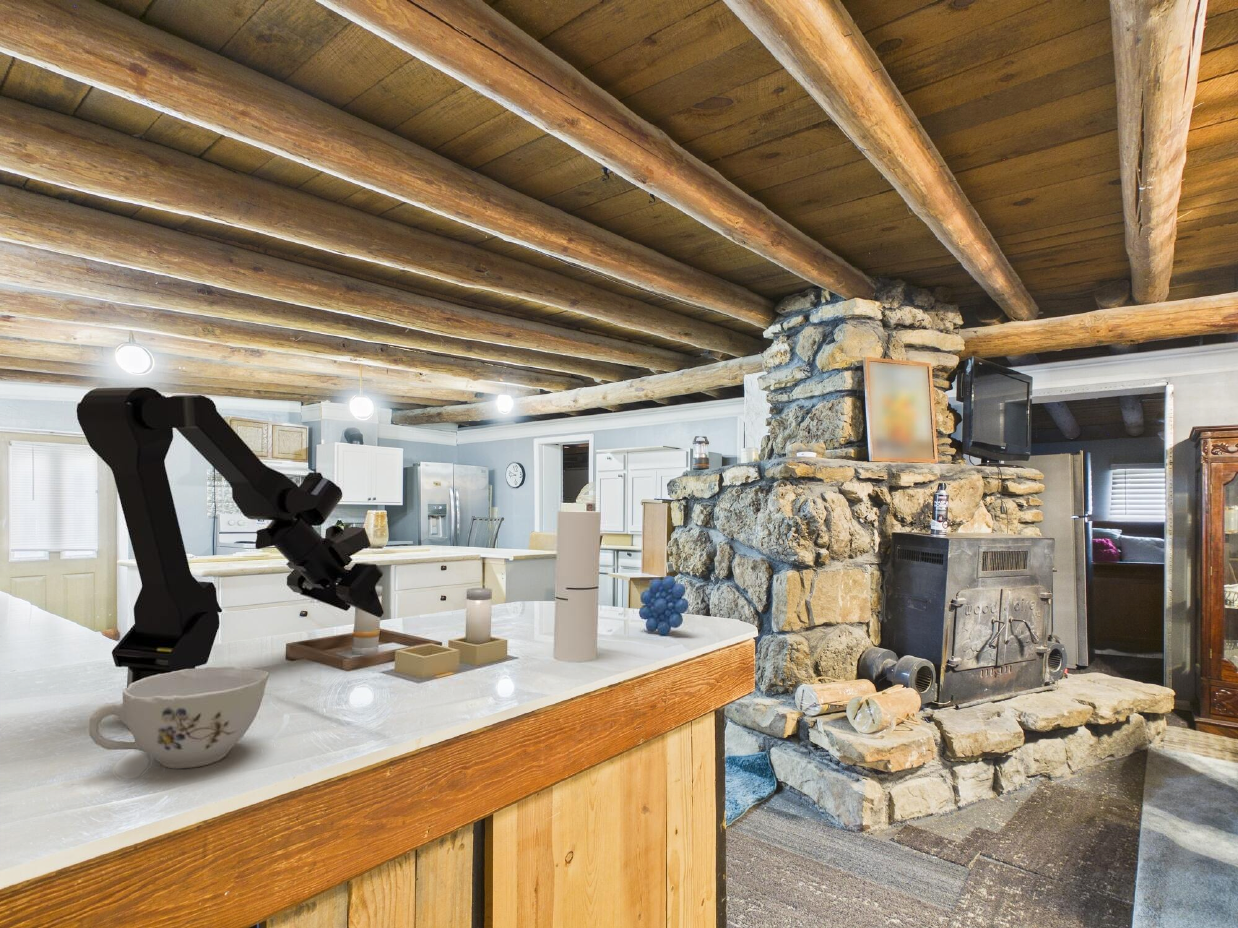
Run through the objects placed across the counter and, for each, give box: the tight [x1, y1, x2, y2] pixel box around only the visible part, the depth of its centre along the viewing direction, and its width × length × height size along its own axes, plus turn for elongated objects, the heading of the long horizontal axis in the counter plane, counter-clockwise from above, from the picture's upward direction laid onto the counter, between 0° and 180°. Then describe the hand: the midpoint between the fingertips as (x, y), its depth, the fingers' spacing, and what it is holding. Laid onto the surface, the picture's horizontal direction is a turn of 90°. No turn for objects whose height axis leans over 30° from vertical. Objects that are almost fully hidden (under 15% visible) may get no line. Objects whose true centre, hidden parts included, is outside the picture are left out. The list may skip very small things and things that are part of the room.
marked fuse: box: [351, 585, 383, 656], centre depth 112 cm, size 4×4×11 cm
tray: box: [284, 628, 443, 672], centre depth 112 cm, size 17×17×2 cm
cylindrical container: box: [553, 510, 602, 664], centre depth 113 cm, size 7×7×25 cm
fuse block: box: [379, 635, 520, 684], centre depth 105 cm, size 20×9×4 cm, turn 144°
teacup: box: [88, 666, 270, 769], centre depth 68 cm, size 15×12×8 cm
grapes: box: [638, 575, 689, 636], centre depth 138 cm, size 12×7×12 cm, turn 53°
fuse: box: [464, 587, 493, 645], centre depth 109 cm, size 4×4×11 cm
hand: (364, 611), depth 112 cm, fingers open, 9 cm apart
